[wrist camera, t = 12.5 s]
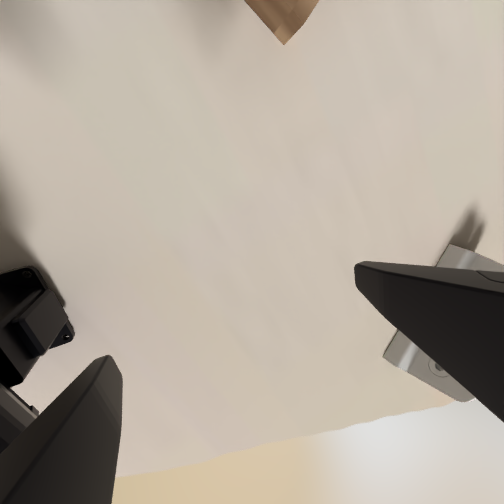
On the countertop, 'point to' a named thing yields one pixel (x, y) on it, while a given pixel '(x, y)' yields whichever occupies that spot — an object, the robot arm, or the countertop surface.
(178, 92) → the countertop surface
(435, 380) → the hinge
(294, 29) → the slot holder
